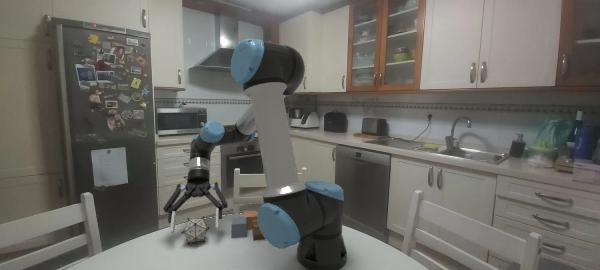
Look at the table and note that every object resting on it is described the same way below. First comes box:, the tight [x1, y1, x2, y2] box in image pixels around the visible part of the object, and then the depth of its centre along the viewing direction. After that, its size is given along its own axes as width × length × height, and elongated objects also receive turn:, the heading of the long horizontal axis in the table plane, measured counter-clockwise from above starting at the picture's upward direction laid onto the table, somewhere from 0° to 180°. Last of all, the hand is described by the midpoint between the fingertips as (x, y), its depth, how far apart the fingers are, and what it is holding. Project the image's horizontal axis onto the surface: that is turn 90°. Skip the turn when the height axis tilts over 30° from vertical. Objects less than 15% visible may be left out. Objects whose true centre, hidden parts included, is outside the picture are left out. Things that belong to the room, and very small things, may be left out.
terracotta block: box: [242, 210, 258, 231], centre depth 98 cm, size 5×5×5 cm
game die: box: [181, 215, 210, 246], centre depth 87 cm, size 9×8×10 cm
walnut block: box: [251, 220, 266, 241], centre depth 92 cm, size 5×5×5 cm
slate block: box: [230, 216, 247, 239], centre depth 93 cm, size 5×5×5 cm
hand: (194, 230), depth 85 cm, fingers open, 13 cm apart
